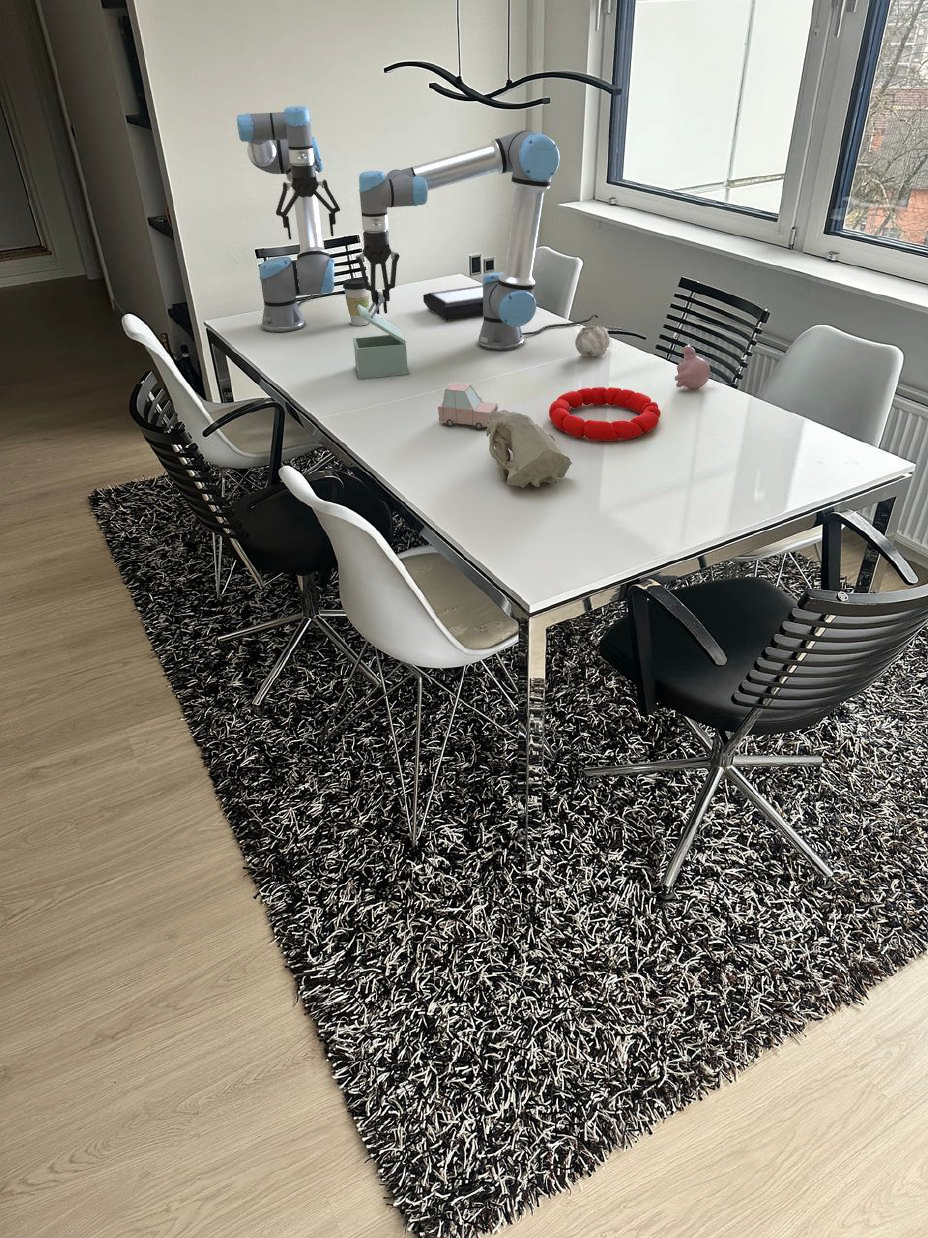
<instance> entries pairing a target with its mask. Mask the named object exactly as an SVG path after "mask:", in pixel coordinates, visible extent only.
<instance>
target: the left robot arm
mask: <svg viewBox="0 0 928 1238" xmlns="http://www.w3.org/2000/svg"><path fill="white" fill-rule="evenodd" d="M236 125H237V131H238V132H237V133H238V138H239V141H241V142H245V143H247V155H248V159H249V161H250V162H251V163H252V164H253V166H255V167H256V168H258V169H259V170H261V171H263V172H265V173H268V174H273V175H285V176H286V180H287V181H288V182H286V181H283V182H282V192H281V195H280V197H279V201H278V203H277V207H276V210H275V215H276V216H278V217H281V218H282V224H283V228H284V229H287V236H288V240H289V241H291V240H292V234H291V226H290V218H289V216H288V214H289V212H290V211H291V209H292V208H293V206H294V211H295V218H296V219H295V220H296V227H297V235H298V242H299V243H298V244H299V250H300V251H299V252H298V253H297V254H296V260H294V261H293V260H292V258H291V257H290V256H277V257H273V258H270V259H267V260H264V261H263V262H261V263H260V265H259V266H258V270H259V280H260V285H261V286H260V287H261V292H262V299H263V313H262V319H261V326H262V330H264V331H265V332H271V333H286V332H293V331H296V330H297V331H298V330H300V329H302V328H304V326H305V319H304V317H303V314H302V312H301V310H300V307H299V306H300V305H301V304H303V303H305V302H307V301H310V300H312V299H313V297H314V295H326V294H332V293H333V292H334V290H335V259H334V258H332V257H330V252H328V251H327V250H326V249H325V243H324V235H323V227H322V219H321V212H320V204H319V202H320V203H321V204H322V205H323V206H324V207H325V208H326V209H327V210H328V211H329V212H328V221H329V230H330V236H331V237H334V236H335V235H334V225H336V224H337V221H336V213H338V212H340V211H341V208H340V206H339V203H338V202H337V201H336V198H335V197H334V195H333V194H332V192H331V190H330V189H329V185H328V182H327V180H326V179H325V178H324V179H323V180H319V179H320V173H322V172H323V169H324V167H323V161H322V157H321V152H320V149H319V144H318V142H317V139H316V138H315V137H314V136H313V135H312V125H311V116H310V110H309V108H308V107H307V106H303V105H295V106H293V105H292V106H286V107H284V110H283V111H277V112H259V113H258V112H257V113H248V112H247V113H241V114H238V115H236ZM319 187H321V188H322V189H324V191H325V192H326V195H327V196H328V198H329V200H330V201H331V203H332V205H333V207H332V206H331V205H330V204H329V202H328V201H327V200H326V199H325V198H324V197H323V196H322V195H321V194H320V193H319V192H318V188H319ZM291 188H292V196H291V198H290V199H289V201H288V203H287V204H286V206H285V207H284V208H283V206H284V203H285V199H286V197H287V193H288V191H290V189H291ZM282 209H283V211H282ZM300 296H301V297H302V296H303V297H304V296H310V297H308V298H305V299H302V300H300V301H299V302H298V303H297V297H300Z"/></svg>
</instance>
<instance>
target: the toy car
mask: <svg viewBox="0 0 928 1238" xmlns="http://www.w3.org/2000/svg"><path fill="white" fill-rule="evenodd" d="M498 409H499V404H498V403H497V402H490V401H489V402H487V401H483V397H481V396H480V395H479V394H478V393H477V391H476V390H475V389H474V386H472V384H469V383H459V382H451V383H450V384H449V385H448V386H447V387H446V388H445V389H444V394H443V399H442V403H440V404H439V405H438V406H437V413H438V421H439V422H443V423H446V425H447V426H448V427H452V426H454V425H455V424H461V425H469V426H473V427H475V429H476V430H479V431H480V430H481V429H483V428H485V427H486V428H487V423H488V422H490V414H491V413H492V412H496V411H499V410H498Z"/></svg>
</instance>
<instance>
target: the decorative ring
mask: <svg viewBox="0 0 928 1238" xmlns="http://www.w3.org/2000/svg"><path fill="white" fill-rule="evenodd" d="M583 405H584V406H586V407H587V406H591V405H593V406H604V405H608V406H614V407H619V408H624V409H628V410H632V411H635V412H636V413H638V414H639V415H637V416H635V417H632V418H631V419H630V420H625V419H624V420H623V419H622V420H614V421H611V422H609V421H607V420H606V421H605V420H593V419H587V420H586V421H585V419H584V418H582V417H579V416H577V415H573V414H571V413H570V410H571V409H579V408H581V407H582V406H583ZM548 416H549V419H550V422H551V423H552V425H553V426H554V427H555V428H556V429H558V430H559V431H561V432H563V433H567V434H568V435H569V436H573V437H576V438H580V439H582V438H583V437H585V438H586V439H587V440H591V441H601V442H602V441H603V442H608V441H609V442H610V441H611V442H612V441H615V442H616V441H618V440H630V439H634V438H638V437H641V436H642V434H647V433H650V432H651V431H653V430H654V429H655V428H656V427H657V426H658V424H659V422H660V421H659V420H660V417H661V410H660V408H659V405H658V403H657V402H656V401H652V399H651V397H649V396H648V395H646V394H644V393H642V392H635V391H634V390H632V389H628V388H624V389H622V388H620V387H613V386H612V387H611V386H610V387H608V388H606V387H604V386H594V387H585V388H584V387H583V388H580V389H578V390H571V391H568V392H565V393H563V394H561V395H560V396H558V397H557V398H556V400H554V401H552V403H551V404H550V407H549V409H548Z"/></svg>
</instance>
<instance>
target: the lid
mask: <svg viewBox="0 0 928 1238" xmlns="http://www.w3.org/2000/svg"><path fill="white" fill-rule="evenodd" d="M378 299H379V303H378V305H377V307H376V304H375V302H374V303H373V302H372V303H371V305H370V306H369V310H367V309H366V308H364V307H362V306H361V305H359V304H358V306H357V308H358V311H359V313H360V316H361V317H362V318H363V319H365V320H366V321H368V323H369V324H371V325H373V326H375V327H376V328H378V329H379V330H381V331H383V332H384V333H386V334H387V335H391V336H392V337H394V338H396V339H397V340H399V341H401V342H402V343H404V344H406V343H407V339H406V337H405V336H404V334H403V331H402V330H401V329H399V328H398V327H397V326H394V325H393V324H391V323H390V322H389V321H386V320H385V319H384V318H382V317H380V316H378V314H377V313H376V312H377V310H378V309H379V310H380V307H381V306H382V305H383V303H384V302H385V299H384V297H383V294H382V291H378ZM374 307H375V308H374ZM373 309H374V310H373ZM372 311H373V312H372ZM406 345H407V344H406Z"/></svg>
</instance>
